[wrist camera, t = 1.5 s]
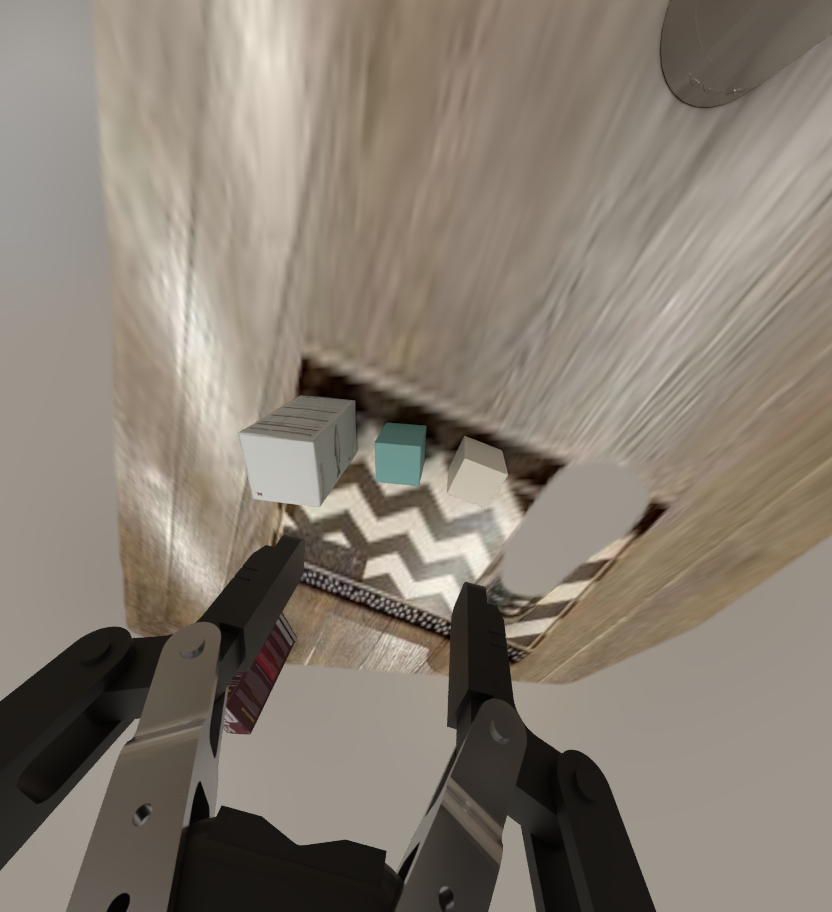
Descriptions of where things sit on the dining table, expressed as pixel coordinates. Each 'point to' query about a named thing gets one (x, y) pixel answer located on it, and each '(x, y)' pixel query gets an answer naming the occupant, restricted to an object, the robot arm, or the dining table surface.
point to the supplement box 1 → (257, 680)
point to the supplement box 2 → (300, 450)
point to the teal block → (400, 454)
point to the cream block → (476, 473)
